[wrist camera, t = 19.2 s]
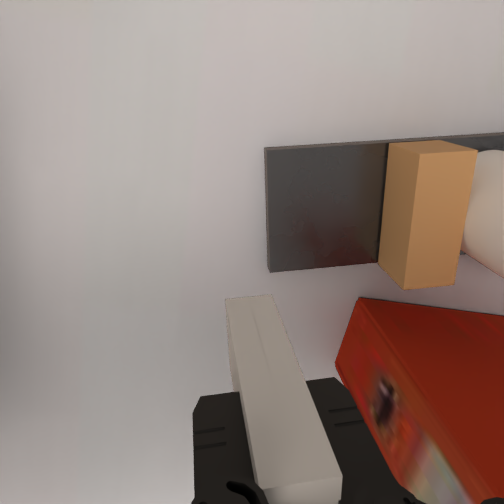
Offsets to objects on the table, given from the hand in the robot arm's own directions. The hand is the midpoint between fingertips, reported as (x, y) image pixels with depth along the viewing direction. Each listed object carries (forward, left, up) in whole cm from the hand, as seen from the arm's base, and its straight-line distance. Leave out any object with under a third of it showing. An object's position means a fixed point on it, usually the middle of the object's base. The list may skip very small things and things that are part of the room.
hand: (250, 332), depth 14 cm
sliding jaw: (+15, -2, -18) cm, 24 cm away
